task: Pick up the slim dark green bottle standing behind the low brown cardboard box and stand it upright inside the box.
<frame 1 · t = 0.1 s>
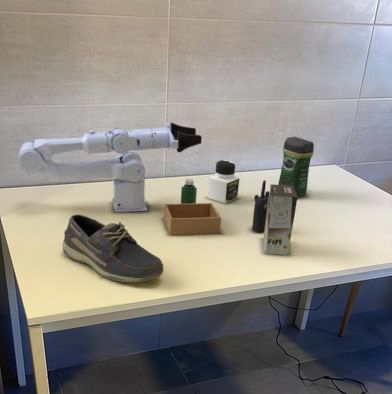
hand: (198, 135, 158), 22 cm above the table, tool horizontal, fingers open, 7 cm apart
two-way radio: (257, 229, 156), on the table
bottle: (187, 210, 165), on the table
coffee jar: (291, 194, 184), on the table
boat shoe: (109, 267, 131), on the table
box: (191, 226, 155), on the table
coffee box: (274, 247, 147), on the table
medicine bottle: (222, 198, 176), on the table
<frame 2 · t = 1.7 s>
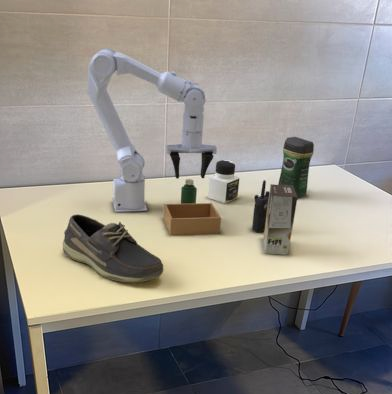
hand: (189, 177, 160), 10 cm above the table, tool pointing down, fingers open, 7 cm apart
nothing on the table moved.
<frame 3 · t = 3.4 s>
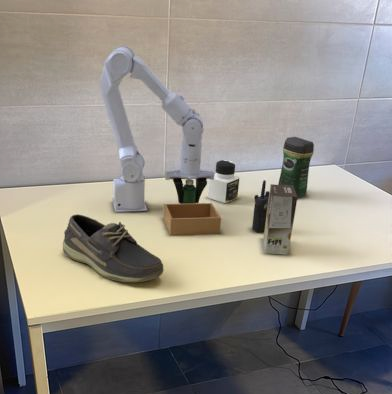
hand: (188, 202, 164), 3 cm above the table, tool pointing down, fingers closed on bottle, 4 cm apart
bottle: (187, 210, 165), on the table, touching gripper
everything else where it was.
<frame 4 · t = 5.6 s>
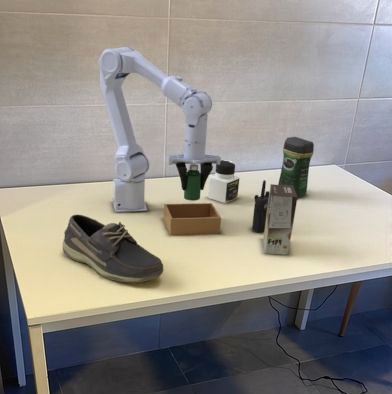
hand: (192, 189, 153), 10 cm above the table, tool pointing down, fingers closed on bottle, 4 cm apart
bottle: (191, 197, 154), point 7 cm above the table, touching gripper
everything else where it was.
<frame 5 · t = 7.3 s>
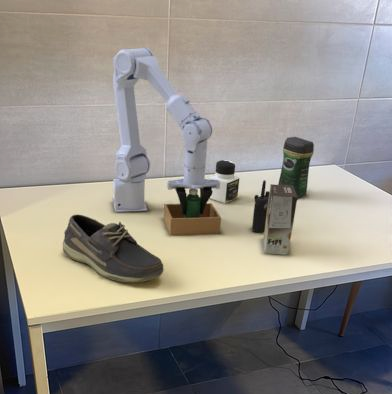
hand: (191, 213, 153), 4 cm above the table, tool pointing down, fingers closed on bottle, 4 cm apart
bottle: (191, 221, 154), point 1 cm above the table, touching gripper
everything else where it was.
when the fingers open (3 cm above the table, at t = 8.1 s): bottle stays where it is, resting on box.
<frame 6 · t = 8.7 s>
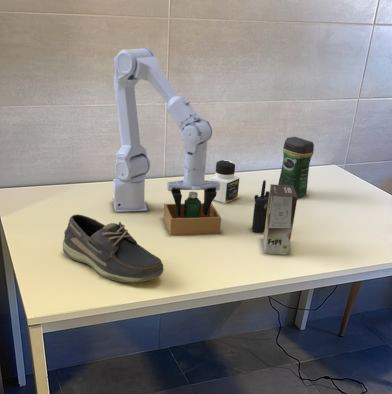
hand: (191, 214, 153), 4 cm above the table, tool pointing down, fingers open, 7 cm apart
bottle: (191, 224, 155), resting on box
everything else where it was.
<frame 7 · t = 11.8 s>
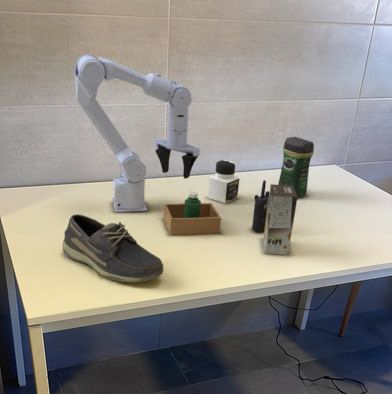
hand: (175, 174, 163), 10 cm above the table, tool pointing down, fingers open, 7 cm apart
nothing on the table moved.
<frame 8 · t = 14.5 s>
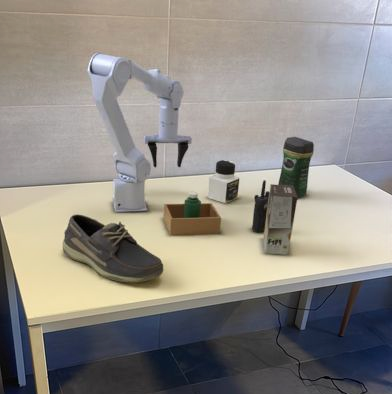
hand: (166, 166, 171), 9 cm above the table, tool pointing down, fingers open, 7 cm apart
nothing on the table moved.
at the end: bottle inside the target area in the box (0.0 cm from its centre), point 0.5 cm above the box's base; bottle tilted 0°; the gripper is holding nothing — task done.
